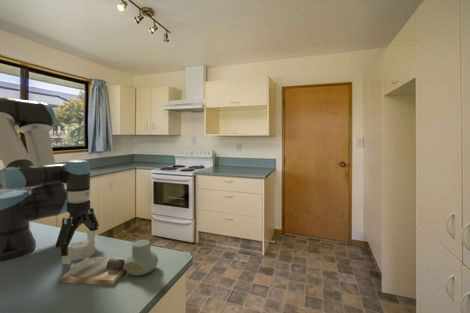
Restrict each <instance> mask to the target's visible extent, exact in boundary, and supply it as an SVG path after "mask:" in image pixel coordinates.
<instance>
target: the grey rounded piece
mask: <svg viewBox="0 0 470 313" xmlns="http://www.w3.org/2000/svg"><path fill="white" fill-rule="evenodd" d="M151 244H152V243H151V241H150V240H147V239H139V240H136V241H134V242H133V243H132V246H131V252H132V253H131V254H130V255H129V256H127V258H125V259H126V261H125V263H124V268H125V270H126V271H125V272H127V273H128V274H129V275H132V276H137V277H138V276H143V275H146V274H149V273H151V272H152V271H154V269H156V267H157V265H158V263H159V258H158V256H157V254H156V253H155V252H153V251H151Z"/></svg>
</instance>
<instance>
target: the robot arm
mask: <svg viewBox="0 0 470 313" xmlns="http://www.w3.org/2000/svg"><path fill="white" fill-rule="evenodd" d="M55 125H56V113H55V111H54V109H53V107H52V106H51V105H50V104H48V103H45V102H41V101H32V100H25V99H19V98H18V99H17V98H11V97H0V159H1V162H2V164H3V166H4V168H2V169H1V170H0V184H1V187H2V188H4V189H6V190H10V191H5V192H2V193H0V261H5V260H10V259H13V258H18V257H21V256H22V255H26V254H28V253H30V252H31V251H33V250H35V248H36V246H37V244H36V243H37V241H36V239H35V237H34V235H33V233H32V231H31V227H30V222H32V221H36V220H38V221H39V220H42V219H45V218H50V217H57V216H59V215H62V214H65V213H68V214H69V217H63V218H62V219H61V220H62V221H61V226H60V229H59V233H58V236H57V239H56V242H55V245H54V246H55V248H60V255H61V263H62V264H64V265H71V263H72V261H71V245H70V243H71V241H72V238H73V237H74V235H75V232H76V230H78V228H79V226H81V225H82V224H83V225H84V227H86V228H87V229H88V230H87V233H86V235H87V240H89V241H90V242H92V246H94V247H95V246H96V231H97V230H98V229H99V228H98V227H99V226H100V224H99V221H98V219H97V217H96V215H95V211H94V208H93V207H91V200H90V199H91V168H90V162H89V161H88V160H86V159H82V160H81V159H76V160H75V159H74V160H67V161H66V163H65V162H62V163H56V160H55V156H54V152H53V147H52V141H51V137H50V132H51V131H52V130H53V128H54V126H55ZM16 127H18V131H19V132H20V133H22V134H24V138H25V144H26V147H25V145H24V143H23V140H22V139H21V137H20V135H19V133H18V131H17V129H16ZM65 185H66V186H65ZM25 188H30V192H29V191H28V190H25ZM17 189H19V190H17ZM87 240H86V241H87Z"/></svg>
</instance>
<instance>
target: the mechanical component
mask: <svg viewBox="0 0 470 313" xmlns="http://www.w3.org/2000/svg"><path fill="white" fill-rule="evenodd" d="M69 245H71V262H73V261H80V260H81V261H82V260H85V259H86V258H87V257H92V256H93V255H94V254H95V253H96V247H95V246H92V242H90V241H89V240H86V239H85V240H79V241H74V242H72V243H71V244H70V243H69Z"/></svg>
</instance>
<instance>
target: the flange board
mask: <svg viewBox="0 0 470 313" xmlns="http://www.w3.org/2000/svg"><path fill="white" fill-rule="evenodd" d="M126 259H127V258H119V257H115V258H114V257H107V256H89V257H87V258H84V259H82V260H81V261H79V262H77V263H76V264H75V265H73V266H72V267H71V269H70V270H68V271H67V272H66V273H65V274H64V275H62V276H61V277H60V278H59V280H60V283H68V284H85V285H88V284H89V285H103V286H104V285H106V286H113V285H115V284H116V282H117V281H118V280H119V279H120V278H121V277H122V276H123V275H124V273H126V272H127V271H126V270H125V268H124V263H125V261H126Z"/></svg>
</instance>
